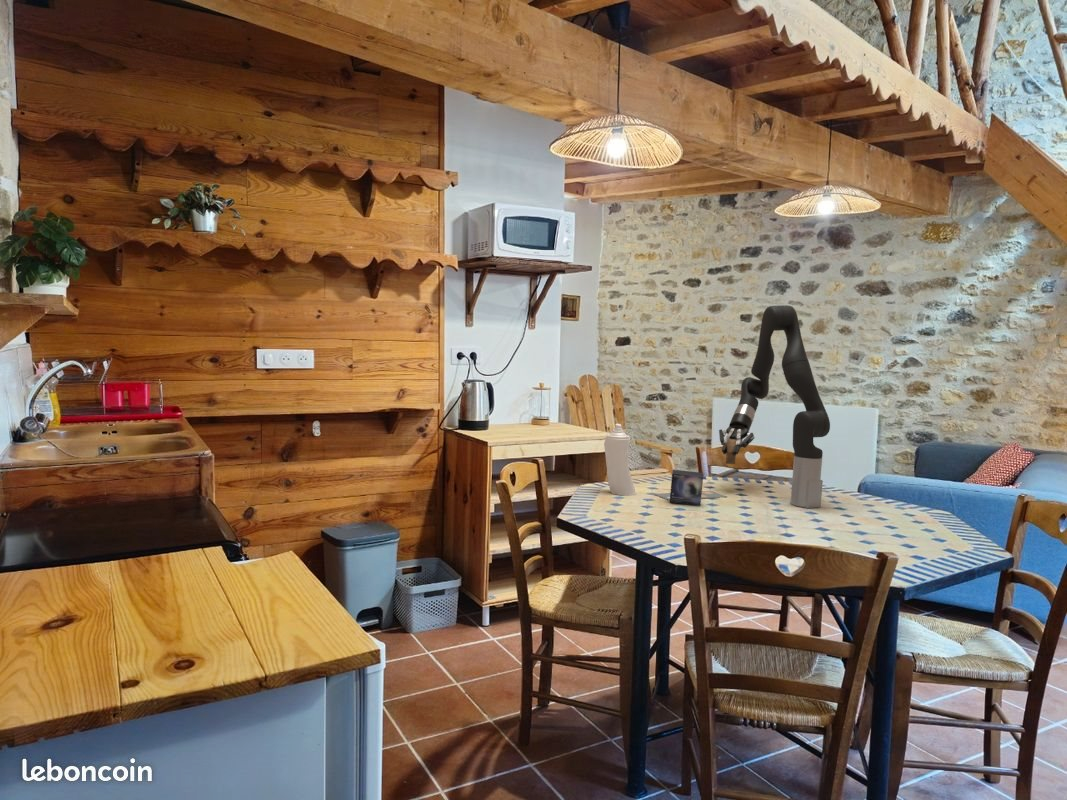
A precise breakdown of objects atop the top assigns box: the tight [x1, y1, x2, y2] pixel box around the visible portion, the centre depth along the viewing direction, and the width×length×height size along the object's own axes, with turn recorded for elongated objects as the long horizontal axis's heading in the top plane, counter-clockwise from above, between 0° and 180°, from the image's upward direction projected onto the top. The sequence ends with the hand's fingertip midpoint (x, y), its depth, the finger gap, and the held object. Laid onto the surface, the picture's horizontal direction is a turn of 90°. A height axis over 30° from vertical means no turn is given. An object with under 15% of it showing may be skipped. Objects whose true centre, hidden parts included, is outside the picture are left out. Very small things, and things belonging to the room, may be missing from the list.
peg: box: [725, 439, 737, 465], centre depth 261 cm, size 3×3×9 cm
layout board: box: [653, 490, 728, 502], centre depth 253 cm, size 10×25×1 cm, turn 113°
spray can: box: [603, 423, 637, 497], centre depth 253 cm, size 12×11×25 cm
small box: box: [669, 469, 704, 507], centre depth 241 cm, size 11×6×10 cm, turn 77°
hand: (729, 453), depth 259 cm, fingers closed on peg, 3 cm apart
